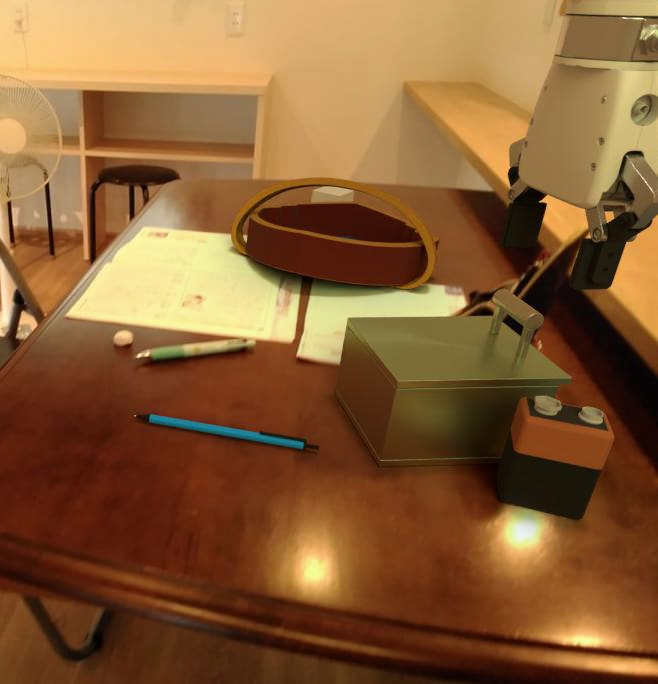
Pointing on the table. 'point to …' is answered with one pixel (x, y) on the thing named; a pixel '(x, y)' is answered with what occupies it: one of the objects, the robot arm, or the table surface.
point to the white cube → (332, 194)
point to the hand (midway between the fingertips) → (550, 265)
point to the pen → (230, 432)
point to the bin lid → (460, 348)
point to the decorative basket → (338, 237)
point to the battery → (553, 456)
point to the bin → (425, 414)
